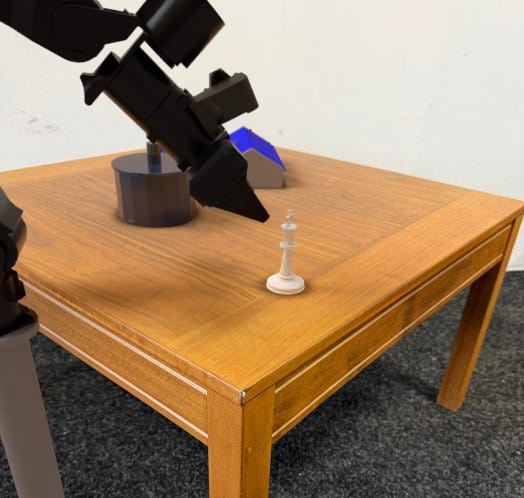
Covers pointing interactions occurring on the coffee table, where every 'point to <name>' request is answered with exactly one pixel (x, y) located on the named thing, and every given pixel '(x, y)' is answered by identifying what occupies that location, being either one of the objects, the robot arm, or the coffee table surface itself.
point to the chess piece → (286, 263)
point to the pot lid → (147, 163)
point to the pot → (154, 200)
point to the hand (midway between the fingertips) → (259, 206)
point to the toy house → (259, 159)
